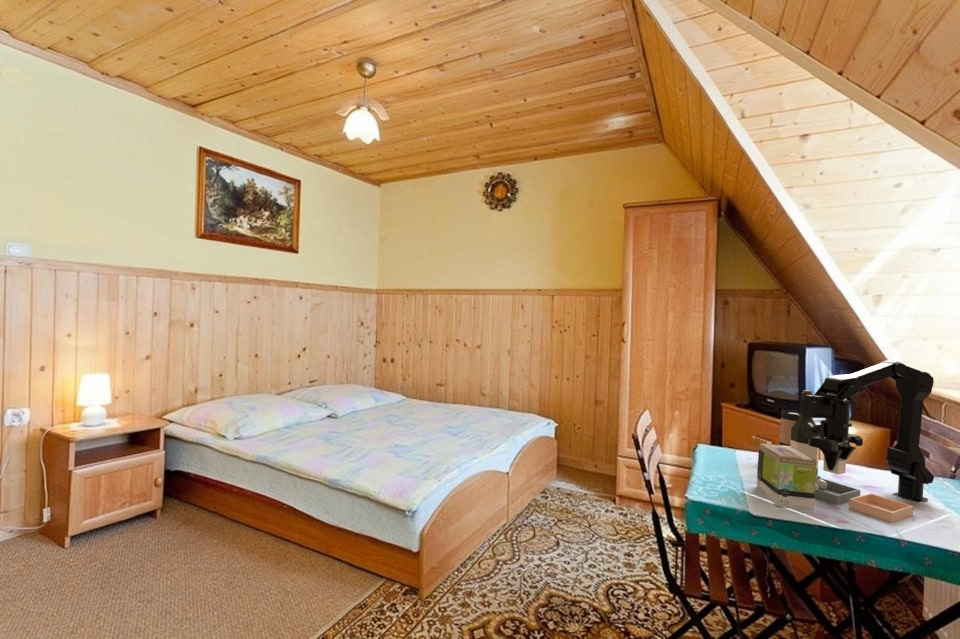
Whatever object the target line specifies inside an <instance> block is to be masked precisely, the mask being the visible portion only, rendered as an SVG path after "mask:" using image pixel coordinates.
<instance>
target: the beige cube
mask: <svg viewBox="0 0 960 639" xmlns="http://www.w3.org/2000/svg"><path fill="white" fill-rule="evenodd" d="M846 465H847V460H844V459H841V458H839V459H838V461H837V463H836V465H835V467H834V469H833V470H829V469H828V467H827V464H826V460H825V457H824V456H823V470H822V471H825V472H828V473H830V474H831V473H832V474H835V475H843V474H845V473H846Z"/></svg>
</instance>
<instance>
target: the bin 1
mask: <svg viewBox="0 0 960 639" xmlns="http://www.w3.org/2000/svg"><path fill="white" fill-rule="evenodd" d="M818 479H822V480H824V481H825V482H826V483H827V488H826V489H825V490H820V489H815V496H814V499H818V500H822V501H825V502H827V503H830V504H833V505H842V504H845V503H849V499H851V498H854V497H858V496H861V489H858V488H855V487H851V486H849V485H846V484H842V483H839V482H835V481H832V480H829V479H826V478H823V477H822V476H820V475H818V476H817V475H816V480H818Z"/></svg>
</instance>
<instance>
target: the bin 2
mask: <svg viewBox="0 0 960 639" xmlns="http://www.w3.org/2000/svg"><path fill="white" fill-rule="evenodd" d="M848 509H851V510H855V511H858V512H861V513H864V514H866V515H869V516H872V517H874V518H877V519H880V520H884V521H886V522H889V523H895V522H898V521H900V520H901V521H902V520H903V519H906V518H909V517H912V516H913V515H914V506H913V505H911V504H907V503H904V502H901V501H897V500H895V499H891V498H888V497H885V496H882V495H877V494H875V493H872V492H869V493H866V494H862V495H860V496H858V497H854V498H851V499H849V502H848Z"/></svg>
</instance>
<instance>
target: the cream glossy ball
mask: <svg viewBox="0 0 960 639" xmlns="http://www.w3.org/2000/svg"><path fill="white" fill-rule="evenodd" d="M815 483H816V484H817V485H818V487H819V489H820V490H825V489H826V488H827V483H826V482H825V481H824V480H822V479H818V480H816V482H815Z"/></svg>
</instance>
